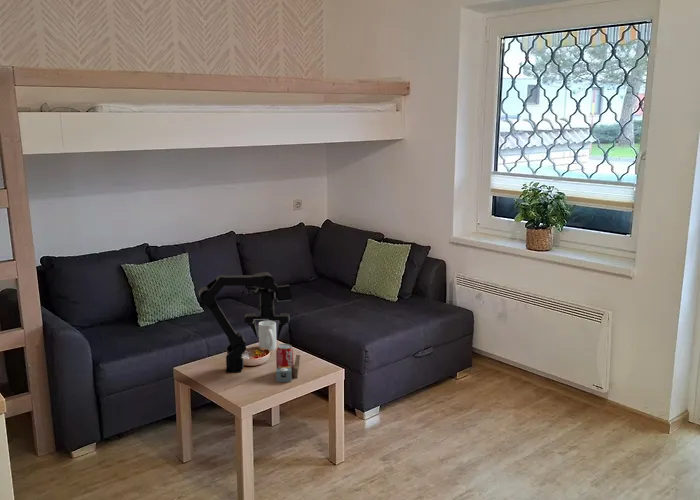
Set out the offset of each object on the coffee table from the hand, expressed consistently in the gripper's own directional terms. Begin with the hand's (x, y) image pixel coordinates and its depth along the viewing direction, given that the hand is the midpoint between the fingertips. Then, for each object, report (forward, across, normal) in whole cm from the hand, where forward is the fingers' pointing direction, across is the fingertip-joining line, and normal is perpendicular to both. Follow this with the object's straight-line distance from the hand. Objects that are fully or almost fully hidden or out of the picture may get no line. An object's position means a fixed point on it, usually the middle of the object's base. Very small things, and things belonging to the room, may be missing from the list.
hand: (267, 337), depth 279 cm
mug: (+13, +2, -20) cm, 24 cm away
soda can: (+13, -8, +8) cm, 17 cm away
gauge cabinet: (+13, -8, +15) cm, 21 cm away
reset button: (+12, -8, +14) cm, 20 cm away
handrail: (+13, -13, +6) cm, 19 cm away
